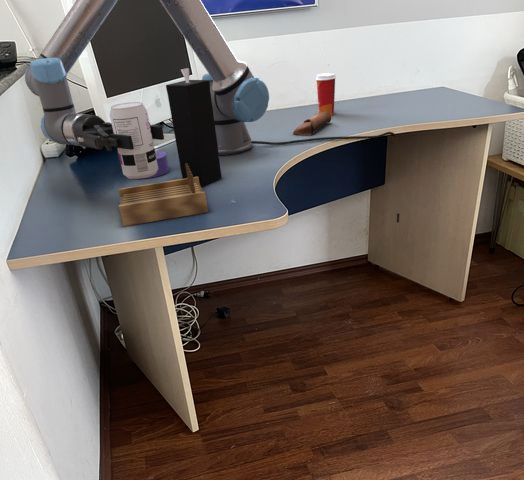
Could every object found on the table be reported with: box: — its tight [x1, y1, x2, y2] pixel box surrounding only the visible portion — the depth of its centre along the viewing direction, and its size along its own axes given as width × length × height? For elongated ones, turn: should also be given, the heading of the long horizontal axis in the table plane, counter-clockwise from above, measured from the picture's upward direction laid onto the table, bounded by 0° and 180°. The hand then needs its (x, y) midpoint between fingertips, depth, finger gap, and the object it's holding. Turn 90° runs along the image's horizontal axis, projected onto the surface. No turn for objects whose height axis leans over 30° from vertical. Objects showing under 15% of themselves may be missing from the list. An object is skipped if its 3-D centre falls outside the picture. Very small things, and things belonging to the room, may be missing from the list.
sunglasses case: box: [292, 112, 332, 136], centre depth 185 cm, size 18×7×7 cm, turn 155°
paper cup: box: [315, 72, 337, 116], centre depth 200 cm, size 8×8×14 cm
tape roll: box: [140, 150, 170, 180], centre depth 156 cm, size 12×12×5 cm
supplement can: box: [109, 101, 158, 180], centre depth 119 cm, size 8×8×15 cm
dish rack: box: [118, 163, 209, 227], centre depth 126 cm, size 20×14×9 cm
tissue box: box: [165, 67, 223, 187], centre depth 138 cm, size 8×8×28 cm
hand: (146, 138), depth 116 cm, fingers closed on supplement can, 8 cm apart
